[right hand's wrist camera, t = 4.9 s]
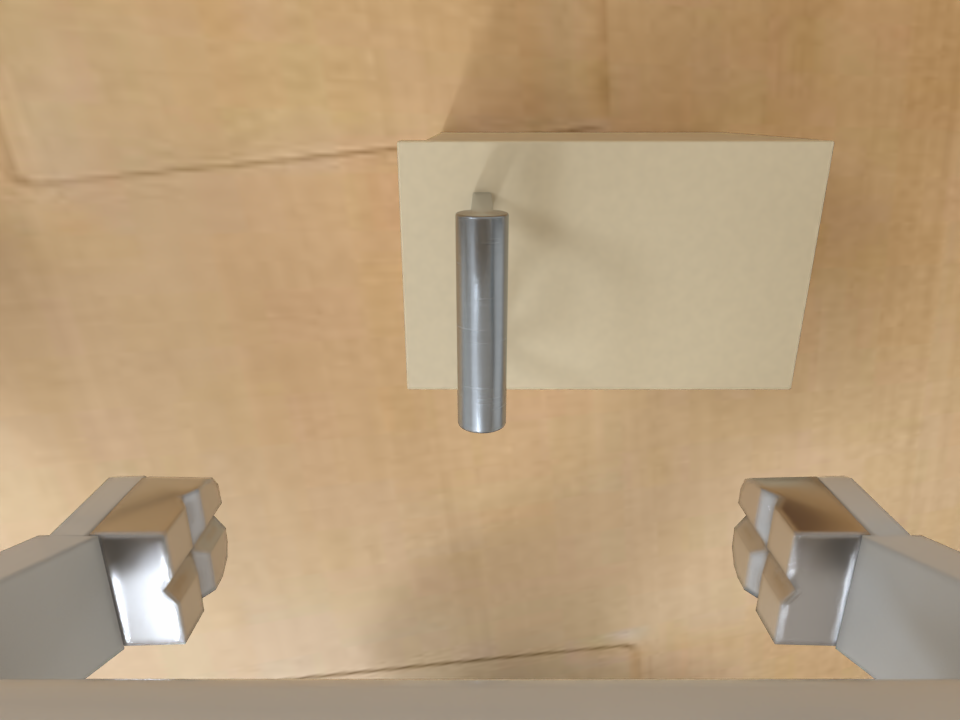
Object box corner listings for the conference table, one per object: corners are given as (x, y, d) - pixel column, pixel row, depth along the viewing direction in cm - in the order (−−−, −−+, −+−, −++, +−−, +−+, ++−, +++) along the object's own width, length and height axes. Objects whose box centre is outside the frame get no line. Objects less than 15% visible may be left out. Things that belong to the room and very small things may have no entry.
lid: (409, 381, 28) (382, 481, 21) (399, 140, 25) (362, 152, 17) (781, 381, 28) (894, 481, 21) (823, 139, 25) (976, 151, 17)
